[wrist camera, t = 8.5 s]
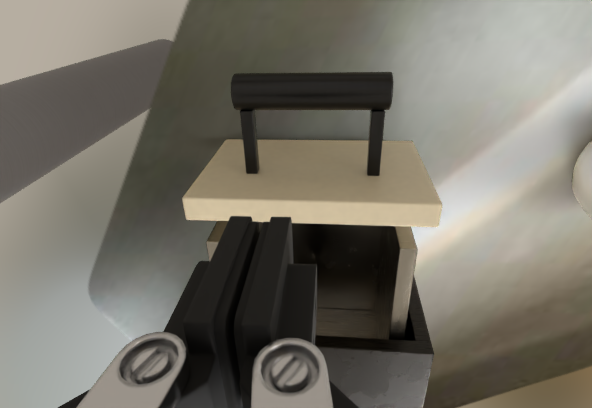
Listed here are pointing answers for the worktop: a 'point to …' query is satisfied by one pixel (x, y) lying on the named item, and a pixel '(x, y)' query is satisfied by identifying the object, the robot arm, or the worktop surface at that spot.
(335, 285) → the beige drawer
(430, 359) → the black rectangular box
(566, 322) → the worktop surface
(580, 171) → the plastic bottle
